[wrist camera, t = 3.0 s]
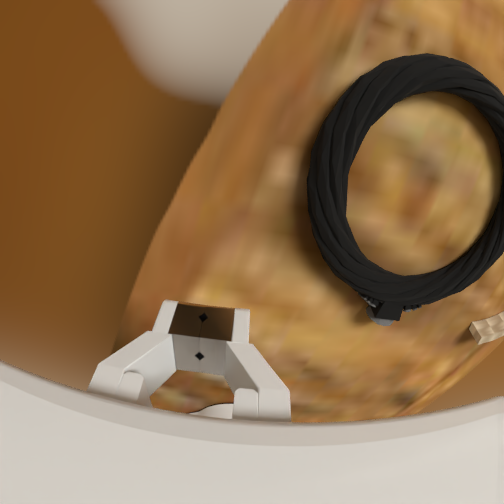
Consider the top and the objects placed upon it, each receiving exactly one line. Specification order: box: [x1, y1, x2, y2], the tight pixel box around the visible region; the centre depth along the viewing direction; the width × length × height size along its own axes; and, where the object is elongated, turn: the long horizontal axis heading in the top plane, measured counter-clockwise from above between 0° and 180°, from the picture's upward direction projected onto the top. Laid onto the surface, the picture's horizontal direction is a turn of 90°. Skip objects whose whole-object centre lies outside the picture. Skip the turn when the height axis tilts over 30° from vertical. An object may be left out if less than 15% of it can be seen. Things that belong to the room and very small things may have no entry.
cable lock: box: [307, 53, 504, 326], centre depth 26 cm, size 28×4×30 cm
